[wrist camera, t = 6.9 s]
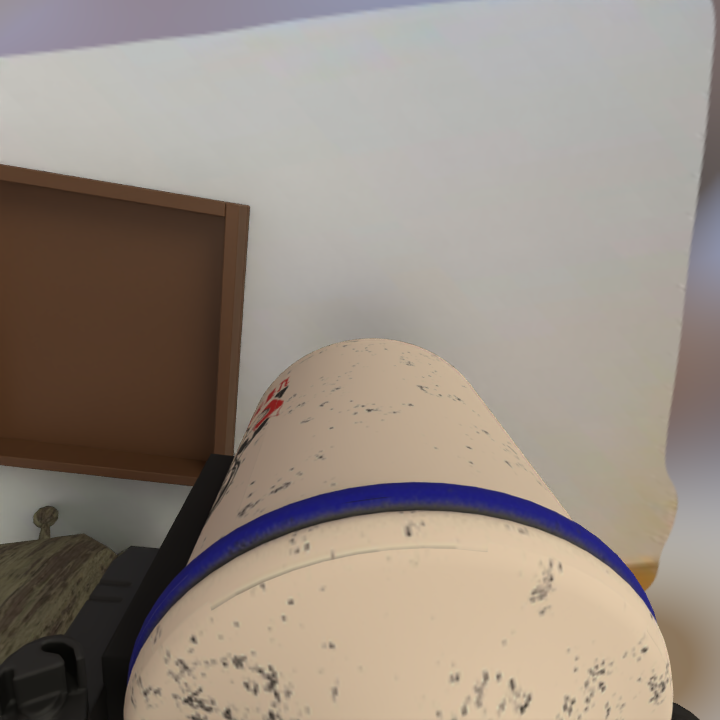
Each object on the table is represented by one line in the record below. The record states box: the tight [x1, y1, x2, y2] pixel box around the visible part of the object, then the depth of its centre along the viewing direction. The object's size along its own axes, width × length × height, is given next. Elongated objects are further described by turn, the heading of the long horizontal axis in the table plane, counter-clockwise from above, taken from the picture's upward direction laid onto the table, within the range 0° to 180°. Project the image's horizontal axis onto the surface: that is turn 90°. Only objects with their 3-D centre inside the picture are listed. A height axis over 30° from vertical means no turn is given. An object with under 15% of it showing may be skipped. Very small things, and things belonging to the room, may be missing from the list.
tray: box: [0, 164, 250, 486], centre depth 27 cm, size 18×20×3 cm
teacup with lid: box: [124, 338, 673, 720], centre depth 10 cm, size 12×9×12 cm
